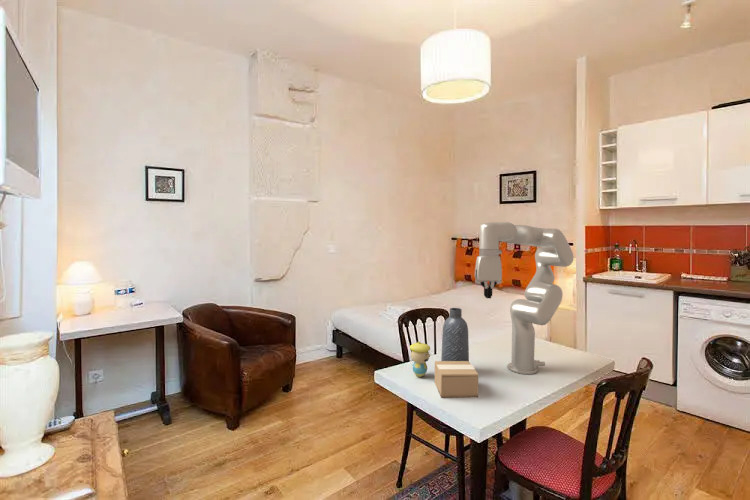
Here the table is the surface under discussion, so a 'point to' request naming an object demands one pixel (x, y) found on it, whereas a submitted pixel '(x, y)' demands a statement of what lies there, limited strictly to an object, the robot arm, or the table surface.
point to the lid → (455, 368)
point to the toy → (420, 358)
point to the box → (456, 385)
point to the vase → (455, 337)
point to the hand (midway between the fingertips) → (488, 297)
